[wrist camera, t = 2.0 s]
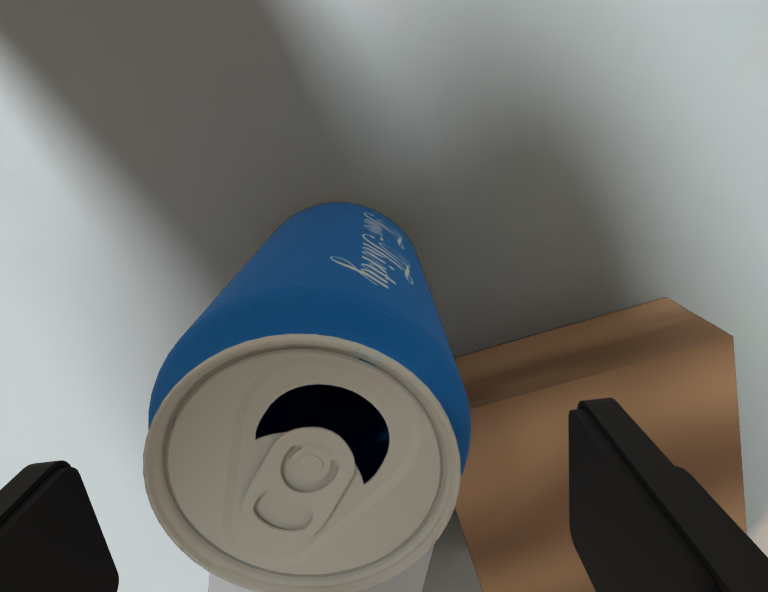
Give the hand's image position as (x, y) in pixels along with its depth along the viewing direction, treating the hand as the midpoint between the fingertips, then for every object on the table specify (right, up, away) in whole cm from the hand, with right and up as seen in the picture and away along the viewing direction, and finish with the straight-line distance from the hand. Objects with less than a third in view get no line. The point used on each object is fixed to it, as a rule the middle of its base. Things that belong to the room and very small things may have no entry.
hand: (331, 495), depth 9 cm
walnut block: (+9, -3, +13) cm, 17 cm away
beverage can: (-1, +5, +11) cm, 12 cm away
